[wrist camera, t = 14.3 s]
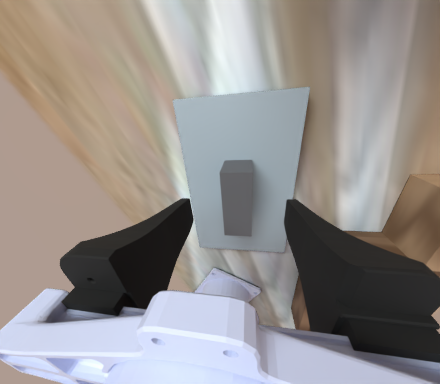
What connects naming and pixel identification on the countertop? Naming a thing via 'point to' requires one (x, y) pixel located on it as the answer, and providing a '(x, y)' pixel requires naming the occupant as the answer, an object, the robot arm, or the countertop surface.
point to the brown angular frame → (399, 233)
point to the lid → (242, 164)
